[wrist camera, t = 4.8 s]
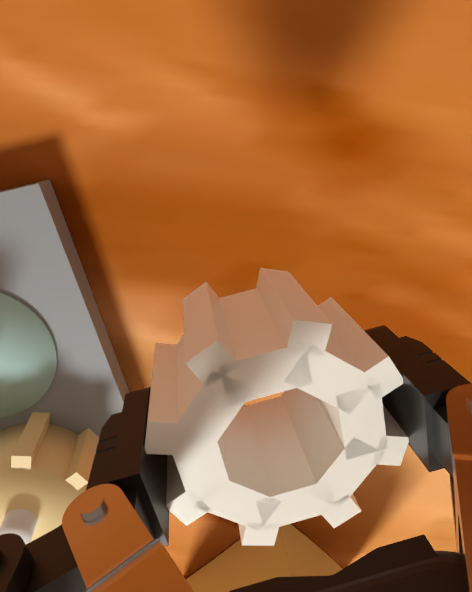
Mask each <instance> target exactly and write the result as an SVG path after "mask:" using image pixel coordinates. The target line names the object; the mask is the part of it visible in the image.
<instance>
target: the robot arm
mask: <svg viewBox="0 0 472 592" xmlns="http://www.w3.org/2000/svg"><path fill="white" fill-rule="evenodd" d="M364 331H365V332H366V333H367V334H368V335H369V336H370V337H371V338H372V339H373V341H374V342H375V343H376V344H377V345H378V346H379V347H380V348H381V349H382V350H383V351H384V352H385V353H386V354H387V355H388V356H389V357H390V359H391V360H392V362H393V364H394V365H395V367H396V368H397V370H398V371H399V373H400V374H401V376H402V377H403V384H402V385H400V386H399V387H397V388H396V389H394V390H393V391H391V392H390V393H388V394H387V395H385V396H384V397H382V403H383V405H384V406H385V408H386V409H387V410H388V412H389V413H390V414H391V416H392V417H393V418H394V419H395V421H396V422H397V423H398V425H399V426H400V427H401V428H402V430H403V431H404V432H405V434H406V435H407V436H408V440H409V443H408V444H409V446H410V447H411V448H412V450H413V451H414V452H415V454H416V455H417V456H418V458H419V459H420V460H421V462H422V463H423V464H424V466H425V467H426V468H427V470H428V471H429V472H432V471H435V470H439V469H442V468H445V469H446V470H447V471H448V473H449V474H450V489H451V499H452V509H453V519H454V529H455V539H456V550H457V552H449V551H434V549H433V548H432V546H431V544H430V543H429V541H428V540H427V538H426V536H425V535H420V536H417V537H414V538H410V539H407V540H403V541H400V542H396V543H393V544H389V545H386V546H383V547H379V548H376V549H375V550H373V551H371V552H370V553H368V554H367V555H365V556H363V557H362V558H360V559H359V560H357V561H355V562H354V563H352V564H350V565H349V566H347V567H346V568H344V569H342V570H341V571H339V572H337V573H336V574H333V575H329V576H295V577H276V578H272V579H269V580H265V581H262V582H258V583H255V584H252V585H248V586H245V587H241V588H238V589H234V590H231V591H229V592H472V384H471V383H470V382H469V381H468V380H466V379H465V378H464V377H463V376H462V375H460V374H459V373H458V372H457V371H456V370H454V369H453V368H452V367H451V366H450V365H448V364H447V363H446V362H445V361H444V360H441V358H440V357H439V356H438V355H436V354H435V353H433V352H432V350H431V349H429V348H428V347H427V346H426V345H425V344H423V343H422V342H420V341H417V340H415V339H412V338H409V337H407V336H405V337H401V338H398V337H397V336H396V335H395V334H394V333H393V332H392V331H390V330H389V329H388V328H387V327H386V326H384V325H383V326H379V327H375V328H371V329H368V330H364ZM150 390H151V387H149V388H145V389H141V390H138V391H134V392H130V393H127V394H126V395H125V399H124V404H123V409H122V412H120V413H116V414H113V415H111V416H110V418H109V419H108V420H107V422H106V423H105V424H104V426H103V427H102V429H101V433H100V437H99V443H98V445H97V449H96V454H95V456H94V460H93V464H92V468H91V472H90V476H89V480H88V484H87V488H86V491H84V492H83V493H81V494H80V495H79V496H77V497H76V498H75V499H74V500H73V501H72V502H71V503H70V505H69V506H68V507H67V509H66V511H65V513H64V515H63V518H62V524H61V525H60V526H59V527H57V528H55V529H54V530H52V531H50V532H48V533H46V534H45V535H43V536H41V537H39V538H37V539H35V540H33V541H32V542H30V543H28V544H25V542H24V541H23V539H22V538H21V536H19V535H18V534H14V533H7V534H2V535H0V592H194V591H193V589H192V588H191V586H190V585H189V583H188V582H187V580H186V579H185V577H184V576H183V574H182V573H181V571H180V570H179V568H178V567H177V565H176V564H175V562H174V561H173V559H172V558H171V556H170V555H169V553H168V552H167V550H166V549H165V547H164V546H167V545H168V544H169V510H168V508H167V505H166V495H167V457H168V455H161V454H146V451H145V439H146V429H147V419H148V409H149V400H150Z"/></svg>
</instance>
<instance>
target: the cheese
mask: <svg viewBox="0 0 472 592" xmlns="http://www.w3.org/2000/svg"><path fill="white" fill-rule="evenodd" d="M342 569H343V568H342V567H340V566H339V565H338V564H337V563H336V562H335V561H334V560H333V559H332V558H331V557H329V556H328V555H327V554H326V553H325V552H324V551H323V550H322V549H320V548H319V547H318V546H317V545H316V544H315V543H313V542H312V541H311V540H310V539H309V538H307V537H306V536H305V535H304V534H303V533H301V532H300V531H299V530H297V529H296V528H295V527H294V526H293V525H292V524H288V525H284V526H281V527H279V529H278V533H277V537H276V541H275V544H274V546H250V545H242V544H241V538H240V539H239V540H238V541H237V542H235V543H234V544H233V545H232V546H230V547H229V548H228V549H227V550H225V551H224V552H223V553H221V554H220V555H219V556H217V557H216V558H215V559H213V560H212V561H211V562H209V563H208V564H206V565H205V566H204V567H202V568H201V569H199V570H198V571H197V572H195V573H194V574H192V575H191V576H190V577H188V578H187V579H186V580H187V582H188V583H189V585H190V586H191V588H192V589H193V591H194V592H229V591H231V590H234V589H238V588H241V587H245V586H248V585H252V584H255V583H258V582H262V581H265V580H269V579H272V578H276V577H295V576H329V575H333V574H336V573H337V572H339V571H341V570H342Z"/></svg>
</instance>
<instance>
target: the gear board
mask: <svg viewBox="0 0 472 592" xmlns="http://www.w3.org/2000/svg"><path fill="white" fill-rule="evenodd" d="M127 393H130V391H129V389H128V386H127V383H126V381H125V378H124V375H123V373H122V370H121V367H120V365H119V362H118V359H117V357H116V354H115V351H114V349H113V346H112V343H111V341H110V338H109V335H108V333H107V330H106V327H105V325H104V322H103V320H102V317H101V314H100V312H99V309H98V306H97V304H96V301H95V298H94V296H93V293H92V290H91V288H90V285H89V282H88V280H87V277H86V274H85V272H84V269H83V266H82V264H81V261H80V258H79V256H78V253H77V250H76V248H75V245H74V242H73V240H72V237H71V234H70V232H69V229H68V227H67V224H66V221H65V219H64V216H63V213H62V211H61V208H60V205H59V203H58V200H57V197H56V195H55V192H54V189H53V187H52V184H51V181H50V179H49V180H44V181H40V182H36V183H32V184H28V185H24V186H19V187H15V188H11V189H7V190H3V191H0V535H2V534H7V533H14V534H18V535H19V536H21V538H22V539H23V541H24V542H25V544H28V543H30V542H32V541H33V540H35V539H37V538H39V537H41V536H43V535H45V534H46V533H48V532H50V531H52V530H54V529H55V528H57V527H59V526H60V525H61V524H62V518H63V515H64V513H65V511H66V509H67V507H68V506H69V505H70V503H71V502H72V501H73V500H74V499H75V498H76V497H77V496H79V495H80V494H81V493H83V492H84V491H86V488H87V484H88V480H89V476H90V472H91V468H92V464H93V460H94V456H95V454H96V449H97V445H98V443H99V437H100V433H101V429H102V427H103V426H104V424H105V423H106V422H107V420H108V419H109V418H110V416H111V415H113V414H116V413H120V412H122V409H123V404H124V399H125V395H126V394H127Z"/></svg>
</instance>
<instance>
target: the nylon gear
mask: <svg viewBox="0 0 472 592" xmlns="http://www.w3.org/2000/svg"><path fill="white" fill-rule="evenodd" d="M183 323H184V335H183V336H182V338H181V339H180V341H179V343H178V344H177V345H173V344H162V343H156V344H155V353H154V361H153V370H152V379H151V390H150V400H149V409H148V419H147V429H146V439H145V451H146V454H161V455H168V457H167V495H166V505H167V508H168V510H169V511H170V512H171V513H172V514H174V515H175V516H176V517H177V518H178V519H179V520H180V521H181V522H183V523H184V524H185V525H186V526H187V525H189V524H190V523H192V522H193V521H195V520H196V519H198V518H199V517H201V516H202V515H204V514H206V513H207V512H208V513H211V514H214V515H217V516H219V517H222V518H225V519H227V520H230V521H233V522H236V523H238V525H239V531H240V537H241V544H242V545H250V546H274V544H275V541H276V537H277V533H278V529H279V527H281V526H284V525H288V524H291V523H295V522H298V521H302V520H305V519H309V518H312V517H316V516H319V515H322V516H323V517H324V518H325V519H326V520H327V521H328V523H329V524H330V525H331V526H332V527H333V528H336V527H337V526H339V525H340V524H342V523H344V522H345V521H347V520H348V519H350V518H352V517H353V516H355V515H356V514H358V513H360V512H361V509H360V507H359V505H358V503H357V501H356V499H355V497H354V495H353V492H354V491H355V490H356V489H357V488H358V486H359V485H360V484H361V483H362V482H363V480H364V479H365V478H366V477H367V476H368V474H369V473H370V472H371V471H372V470H373V468H374V467H375V466H376V465H396V466H400V465H401V462H402V459H403V457H404V454H405V451H406V448H407V446H408V443H409V440H408V436H407V435H406V434H405V432H404V431H403V430H402V428H401V427H400V426H399V425H398V423H397V422H396V421H395V419H394V418H393V417H392V416H391V414H390V413H389V412H388V410H387V409H386V408H385V406H384V405H383V403H382V397H384V396H385V395H387V394H388V393H390V392H391V391H393V390H394V389H396V388H397V387H399V386H400V385H402V384H403V377H402V376H401V374H400V373H399V371H398V370H397V368H396V367H395V365H394V364H393V362H392V360H391V359H390V357H389V356H388V355H387V354H386V353H385V352H384V351H383V350H382V349H381V348H380V347H379V346H378V345H377V344H376V343H375V342H374V341H373V339H372V338H371V337H370V336H369V335H368V334H367V333H366V332H365V331H364V330H363V329H362V328H361V327H360V326H359V325H358V324H357V323H356V322H355V321H354V320H353V319H352V318H351V317H350V316H349V315H348V314H347V313H346V312H345V311H344V310H343V309H342V308H341V306H340V305H339V304H338V303H337V302H336V301H335V300H334V299H333V298H332V297H330V298H328V299H327V300H326V301H324V302H323V303H321V304H320V305H318V306H317V305H316V304H315V303H314V301H313V300H312V299H311V298H310V297H309V295H308V294H307V293H306V292H305V291H304V289H303V288H302V287H301V286H300V285H299V283H298V282H297V281H296V280H295V279H294V277H293V276H292V275H291V274H290V273H289V271H281V270H274V269H266V268H260V271H259V276H258V282H257V287H256V289H252V290H248V291H245V292H241V293H237V294H233V295H229V296H225V297H221V298H219V297H218V296H217V295H216V293H215V292H214V291H213V290H212V288H211V287H210V286H209V285H208V283H207V282H205V283H204V284H202V285H201V286H200V287H198V288H197V289H195V290H194V291H193V292H191V293H190V294H189V295H187V296H186V297H184V298H183ZM284 391H285V392H284ZM280 392H284V393H283V395H282V396H281V397H278V398H274V399H270V400H267V401H263V402H259V403H255V404H252V405H248V406H245V405H243V404H244V403H245V402H247V401H250V400H254V399H258V398H261V397H265V396H269V395H272V394H276V393H280Z"/></svg>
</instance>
